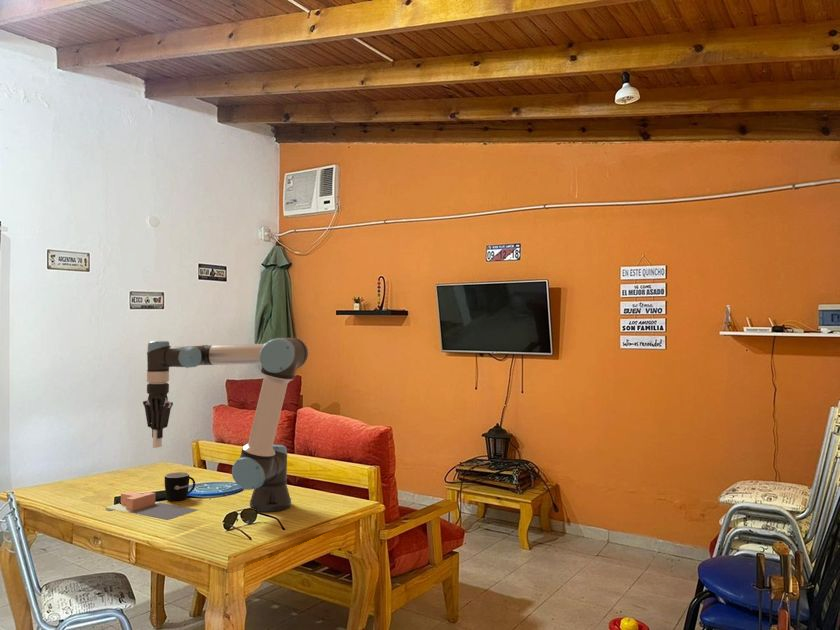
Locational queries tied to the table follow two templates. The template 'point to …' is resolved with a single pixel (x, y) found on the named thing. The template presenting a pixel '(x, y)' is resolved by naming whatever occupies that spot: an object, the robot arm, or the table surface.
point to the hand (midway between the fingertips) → (157, 446)
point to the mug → (177, 486)
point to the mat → (156, 510)
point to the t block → (137, 500)
